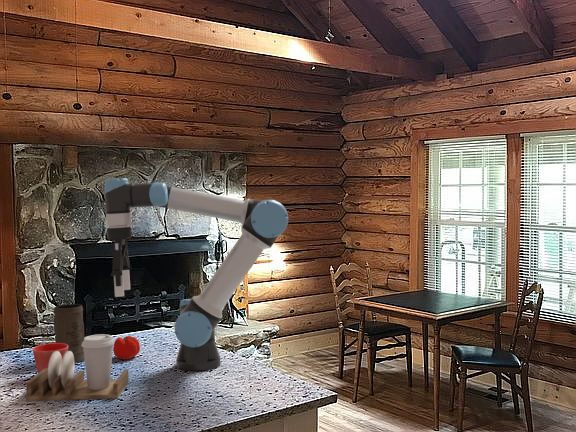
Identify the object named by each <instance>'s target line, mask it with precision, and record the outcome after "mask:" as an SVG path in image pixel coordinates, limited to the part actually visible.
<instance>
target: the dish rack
mask: <svg viewBox="0 0 576 432" xmlns="http://www.w3.org/2000/svg"><path fill="white" fill-rule="evenodd" d="M75 364H76V363H75V361H74V356H73V353H72V352H71V351H66V352H65V354H64V356H63V359H62V356H61V354H60V352H59V351H54V352H53V353H52V355H51V357H50V360H49V365H48V368H44V369H43V370H42V371H40V372H39V373H38V372H37V374H35V375H34V376H33V377H32V378H31V379H29V380H28V381H27V382H26V384H25V385H26V387H25V388H26V402H27V401H29V402H30V401H33V402H34V401H36V402H37V401H63V400H65V401H66V400H67V401H68V400H69V401H70V400H71V401H72V399H75V400H103V399H104V400H108V399H107V398H110V399H111V398H113V399H119V397H120V396H121V394H123V391H124V390H125V389H126V387H127V386H128V384H129V382H130V381H129V377H130V376H129V369H123V371H122V372H121V373H120V374H119V376H118V377H117V378H115V379H113V378H112V379H111V381H110V386H109V387H108V388H105V389H100V390H92V389H89V388H88V384H87V379H85V370H79V371H78V372H77V373H75V369H76V367H75Z"/></svg>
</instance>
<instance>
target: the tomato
mask: <svg viewBox="0 0 576 432" xmlns="http://www.w3.org/2000/svg"><path fill="white" fill-rule="evenodd" d="M140 350H141V345H140V341H139V339H138V338H137V337H135V336H132V335H127V336H125V337H117V338H116V339H115V340H114V344H113V350H112V353H113V355H114V356H115V357H116V358H117V359H119V360H130V359H132V358H134V357H136V356H137V355H138V354H139V353H140Z"/></svg>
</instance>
